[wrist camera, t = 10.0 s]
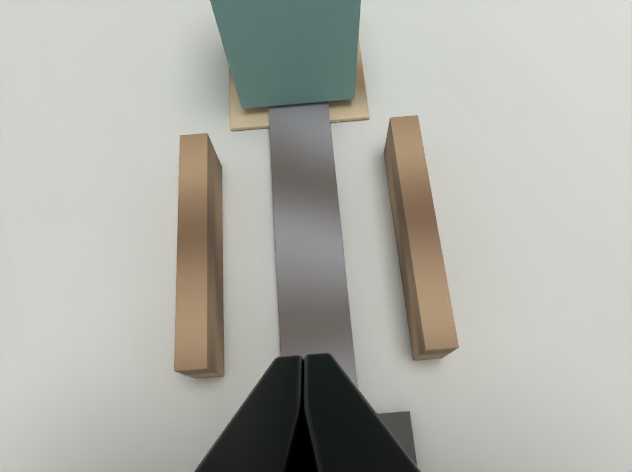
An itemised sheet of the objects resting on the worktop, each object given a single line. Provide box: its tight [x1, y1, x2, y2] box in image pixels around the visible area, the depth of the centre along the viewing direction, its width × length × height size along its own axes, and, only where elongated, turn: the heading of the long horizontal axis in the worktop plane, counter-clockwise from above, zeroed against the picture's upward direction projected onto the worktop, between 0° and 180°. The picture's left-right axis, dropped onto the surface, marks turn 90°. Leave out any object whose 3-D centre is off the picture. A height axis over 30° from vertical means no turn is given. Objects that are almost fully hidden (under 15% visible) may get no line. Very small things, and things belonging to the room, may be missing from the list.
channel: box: [174, 38, 459, 466], centre depth 21 cm, size 28×10×3 cm, turn 4°
